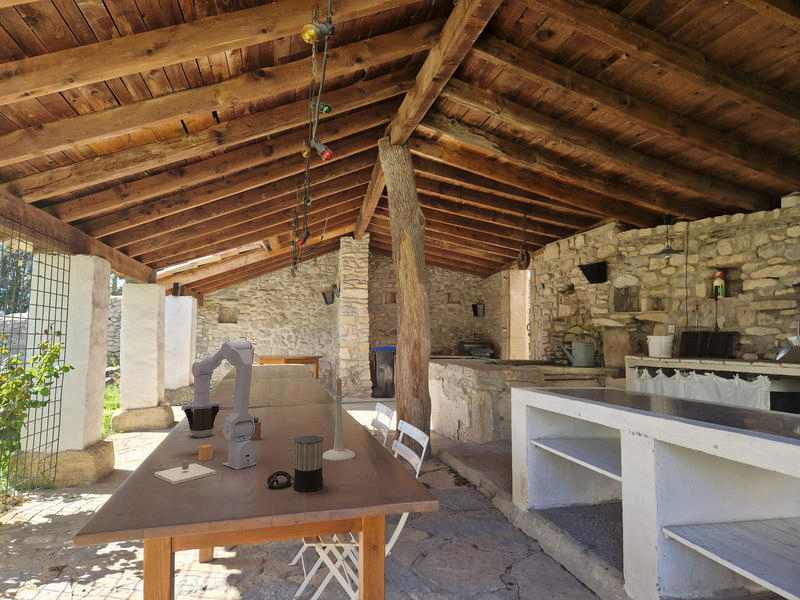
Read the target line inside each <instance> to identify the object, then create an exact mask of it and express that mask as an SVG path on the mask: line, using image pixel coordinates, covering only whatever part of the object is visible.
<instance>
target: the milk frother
mask: <svg viewBox="0 0 800 600" xmlns="http://www.w3.org/2000/svg"><path fill="white" fill-rule="evenodd" d="M324 440H325V438H324V437H323V436H322V435H321V436H320V435H314V434H313V435H312V434H311V435H300V436H298V437H295V438H294V439H293V441H294V475H293V476H294V477H293V476H292V475H291V474H290V473H289V472H287V471H282V470H279V471H275V472H273V473H271V474H270V475H269V476H268V477H267V479H266V484H267V485H268V487H270V488H272V489H273V488H274V489H282V488H283V489H284V488H286V487H288V486H289V485H290V484H291V481H292V480H293V486H292V488H294V489H293V490H295V491H297V492H301V491H302V492H303V493H305V492H307V493H309V492H308V491H311V492H315V490H316V491H318V489H319V490H321V489H323V487H324V478H323V469H324V467H323V465H324V464H323V462H324V460H323V453H324V451H323V450H324V449H323V447H324V446H323V445H324V443H323V442H324ZM278 477H285V478H286V481H285V482H283V483H279V478H278Z"/></svg>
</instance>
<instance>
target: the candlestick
mask: <svg viewBox="0 0 800 600" xmlns="http://www.w3.org/2000/svg"><path fill="white" fill-rule="evenodd" d="M342 380H343V379H342V378H340V377H337V378H336V388H335V389H336V395H334V396H333V397H334V398H335V401H336V405H335V406H336V409H335V425H334V441H333V442H334V443H333V448H332V449H329V450H326V451H325V452H323V459H324V460H323V461H326V460H329V461H328V462H346V460H347V461H350V460H353V459H355V458H356V457H357V456H356V453H355V452H354V451H353V450H350V449H348V448H345V447H344V434H343V430H344V429H343V410H342V409H343V408H342V406H343V405H342V402H343V399H344V395H342V392H343V391H342V389H343V387H342V385H343V383H342V382H343V381H342Z"/></svg>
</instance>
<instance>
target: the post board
mask: <svg viewBox="0 0 800 600" xmlns="http://www.w3.org/2000/svg"><path fill="white" fill-rule="evenodd" d="M216 474H217V471H216V470H214V469H211V468H209V467H206V466H203V465H200V464H198V463H192V464H191V463H189V460H186V459H185V460H183V461H182V463H181V466H178V467H173V468H169V469H164V470H161V471H156V472H154V474H153V475H154V477H156V478H159V479H160V480H163V481H165V482H167V483H169V484H171V485H178V484H182V483H185V482H190V481H193V480H197V479H201V478H205V477H210V476H213V475H216Z"/></svg>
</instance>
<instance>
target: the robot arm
mask: <svg viewBox="0 0 800 600" xmlns="http://www.w3.org/2000/svg"><path fill="white" fill-rule="evenodd" d="M220 347H221V348H220V349H219V350H217V352H216V353H211V352H210V353H208V354H207V356H206V357H204V358H202V359H201V361H194V362H193V364H192V365H191V374H192V376H193V377H194V383H193V384H194V385H193V387H194V388H193V390H194V391H193V403H188V404H181V411H183V413H184V414H185V416H186V418H187V422H188V425H189V427H188V428H189V430H190V429H192V428H193V423H192V418H193V410H194V409H202V408H210V426H211V427H212V426H213V424H214V425H215V419H216V417H217V415H218V413H219V412H220V408H222V401H210V400H211V399H210V398H211V380H212V378H213V377H212V376H213V373H214V370H216V369H217V368H218V367H220V366H221V364H222V361H224V360H226V361H227V362H228V363H229V364H230V365H232V366H233V367H234V368H235V379H234V380H235V381H234V391H233V402H232V412H230V414H229V415H227V416H226V418H225V422H224V426H223V427H222V428H223V429H222V433H223V436H224V438H225V440H226V441H227V442H228V446H227V448H228V449H227V451H228V452H227V453H228V454H227V461H226V462H223V463H222V465H223V466H226V467H229V468H232V469H235V470H240V469H241V470H242V469H243V468H248V467H253V466H256V465H257V464H258V463H257V462H255V459H256V458H255V457H256V455H255V453H256V452H255V451H256V447H255V445H254V443H253V442H252V441H251V440H250V438H251V436H252V435H253V434H254V431H255V424H254V417H253V416H254V415H253V414H252V413H251V412H249V404H250V392H251V381H252V371H253V364H254V359H255V357H254V356H255V346H254V345H253V343H252V342H251V341H249V340H244V341H243V340H242V341H229V340H228V341H227V340H226V341H225V342H223V343H222V344H221V346H220ZM204 406H208V407H204ZM255 464H256V465H255Z"/></svg>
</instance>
